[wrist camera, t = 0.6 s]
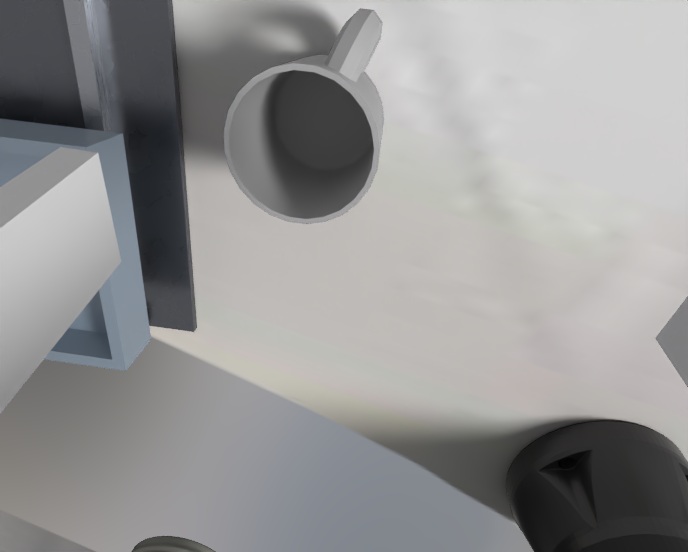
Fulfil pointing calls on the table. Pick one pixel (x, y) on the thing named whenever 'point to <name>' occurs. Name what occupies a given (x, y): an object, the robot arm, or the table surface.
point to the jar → (170, 545)
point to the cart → (126, 281)
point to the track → (113, 115)
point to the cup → (310, 129)
